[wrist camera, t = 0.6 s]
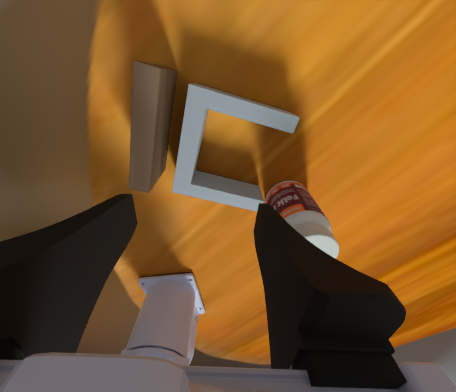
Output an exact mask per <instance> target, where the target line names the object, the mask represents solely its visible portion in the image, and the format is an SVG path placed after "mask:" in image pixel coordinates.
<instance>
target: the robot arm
mask: <svg viewBox="0 0 456 392" xmlns="http://www.w3.org/2000/svg"><path fill="white" fill-rule="evenodd" d="M136 226H137V219H136V213H135V208H134V202H133V196H132V194H119V195H117V196H114V197H112V198H110V199H108V200H106V201H104V202H102V203H100V204H98V205H96V206H94V207H92V208H90V209H88V210H86V211H83V212H81V213H79V214H77V215H75V216H72V217H70V218H68V219H66V220H63V221H61V222H58V223H56V224H53V225H51V226H48V227H45V228H43V229H40V230H37V231H34V232H31V233H27V234H24V235H21V236H18V237H15V238H12V239H8V240H5V241H1V242H0V392H456V386H455V384H454V383H453V382H452V380H451V379H450V377H449V376H448V375H447V374H446V372H445V371H444V369H443V368H442V367H441V366H440V364H437V363H424V362H404V363H401V364H398V365H397V363H396V362H395V360H394V359H393V357H392V355H391V354H393V353H394V352H395V351H394V348H393V346H392V345H391V343H390V341H389V340H388V339H389V338H390V337H391V336H392V335H393V334H394V333H395V332H396V330H397V329H398V328H399V327H400V326H401V325H402V323H403V322H404V320H405V316H406V310H405V308H404V306H403V305H402V303H401V302H400V301H399V299H398V298H397V297H396V296H395V294H394V293H393V292H392V290H391V289H390V288H389V287H388V285H387V284H385V283H383V282H380V281H378V280H376V279H374V278H372V277H370V276H367V275H365V274H363V273H361V272H359V271H357V270H355V269H353V268H351V267H349V266H347V265H346V264H344V263H342V262H340V261H338V260H337V259H335V258H333V257H332V256H330V255H329V254H327V253H325V252H324V251H322V250H321V249H319V248H318V247H316V246H315V245H314V244H312V243H311V242H310V241H308V240H307V239H306V238H304V237H303V236H302V235H301V234H300V233H299V232H297V231H296V230H295V229H294V228H293V227H292V226H291V225H290V224H289V223H288V222H287V221H286V220H285V219H284V218H283V217H282V216H281V215H280V214H279V213H278V212H277V211H276V210H275V209H274V208H273V207H272V206H271V205H270V204H266V203H259V205H258V211H257V216H256V222H255V227H254V239H255V248H256V252H257V257H258V261H259V266H260V270H261V275H262V279H263V285H264V292H265V301H266V310H267V320H268V331H269V343H270V356H271V369H259V368H258V369H257V368H230V367H202V366H189V364H190V362H191V360H192V358H193V354H194V348H195V340H196V332H197V324H198V316H199V314H203V313H205V309H204V306H203V303H202V300H201V297H200V294H199V290H198V287H197V284H196V281H195V278H194V275H193V274H191V273H186V274H175V275H164V276H154V277H143V278H140V279H139V281H138V282H139V284H140V286H141V287H142V289H143V291H144V293H145V295H146V297H145V299H144V302H143V305H142V307H141V310H140V313H139V316H138V318H137V321H136V323H135V326H134V329H133V331H132V334H131V337H130V340H129V342H128V345H127V347H126V349H123V350H122V352H121V355H111V354H109V355H108V354H83V353H81V354H80V353H76V351H77V348H78V345H79V342H80V340H81V337H82V335H83V332H84V330H85V328H86V325H87V323H88V320H89V318H90V315H91V313H92V311H93V308H94V306H95V304H96V301H97V299H98V297H99V295H100V293H101V291H102V289H103V286H104V284H105V282H106V280H107V278H108V276H109V274H110V273H111V271H112V269H113V268H114V266H115V265H116V263H117V261H118V260H119V258H120V256H121V255H122V253H123V251H124V250H125V248H126V246H127V245H128V243H129V241H130V240H131V238H132V235H133V233H134V231H135V228H136Z"/></svg>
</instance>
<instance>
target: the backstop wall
mask: <svg viewBox="0 0 456 392" xmlns="http://www.w3.org/2000/svg"><path fill="white" fill-rule="evenodd" d="M177 73H178V71H176V70H173V69H170V68H166V67H163V66H160V65H156V64H150V63H145V62H140V61H134V60H133V82H132V112H131V143H130V173H129V189H134V190H138V191H143V192H147V193H149V192H150V191H151V189H152V188H153V186H154V185H155V184H156V182H157V181H158V179H159V178H160V176H161V175H162V173H163V172H164V170H165V167H166V159H167V151H168V144H169V136H170V128H171V120H172V112H173V104H174V96H175V89H176V81H177Z"/></svg>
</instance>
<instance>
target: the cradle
mask: <svg viewBox="0 0 456 392" xmlns="http://www.w3.org/2000/svg"><path fill="white" fill-rule="evenodd" d="M208 109H210V110H213V111H216V112H220V113H223V114H227V115H230V116H234V117H237V118H240V119H244V120H247V121H251V122H254V123H258V124H261V125H264V126H268V127H271V128H275V129H278V130H282V131H285V132H289V133H292V134H293V133H294V130H295V128H296V126H297V123H298V121H299V119H300V117H298V116H296V115H294V114H292V113H291V112H289V111H285V110H282V109H279V108H276V107H272V106H269V105H266V104H263V103H259V102H256V101H253V100H250V99H246V98H243V97H240V96H236V95H233V94H230V93H227V92H223V91H220V90H217V89H214V88H210V87H207V86H204V85H200V84H197V83H191V84H189V86H188V92H187V99H186V105H185V112H184V118H183V125H182V131H181V137H180V144H179V150H178V157H177V163H176V170H175V176H174V183H173V189H172V192H174V193H179V194H183V195H187V196H192V197H196V198H200V199H205V200H209V201H213V202H218V203H222V204H226V205H231V206H235V207H239V208H244V209H248V210H252V211H258V205H259V203H264V199H263V196H262V193H261V189H260V186H258V185H254V184H250V183H246V182H241V181H237V180H233V179H229V178H225V177H221V176H217V175H213V174H209V173H205V172H201V171H197V170H196V166H197V161H198V156H199V151H200V146H201V142H202V137H203V132H204V127H205V122H206V118H207V113H208Z"/></svg>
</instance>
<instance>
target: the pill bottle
mask: <svg viewBox="0 0 456 392" xmlns="http://www.w3.org/2000/svg"><path fill="white" fill-rule="evenodd" d="M266 204H270V205H271V206H272V207H273V208H274V209H275V210H276V211H277V212H278V213H279V214H280V215H281V216H282V217H283V218H284V219H285V220H286V221H287V222H288V223H289V224H290V225H291V226H292V227H293V228H294V229H295V230H296V231H297V232H299V233H300V234H301V235H302V236H303V237H304V238H306V239H307V240H308V241H310V242H311V243H312V244H314V245H315V246H316V247H318V248H319V249H321V250H322V251H324V252H325V253H327V254H329V255H330V256H332V257H333V258H335V259H336V257H337V256H338V253H339V245H338V243H337V241H336V239H335V238H334V236H333V234H332V233H331V226H330V223H329V221H328V219H327V218H326V216H325V215H324V214H323V212H322V211H321V209H320V208H319V206H318V205H317V203H316V202H315V201H314V199H313V198H312V196H311V195H310V193H309V192H308V190H307V189H306V188H305V187H304V186H303V185H302V184H301V183H299V182H296V181H283V182H280V183H278V184H276V185H275V186H273V187H272V188H271V189H270V190H269V192H268V194H267V196H266Z"/></svg>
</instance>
